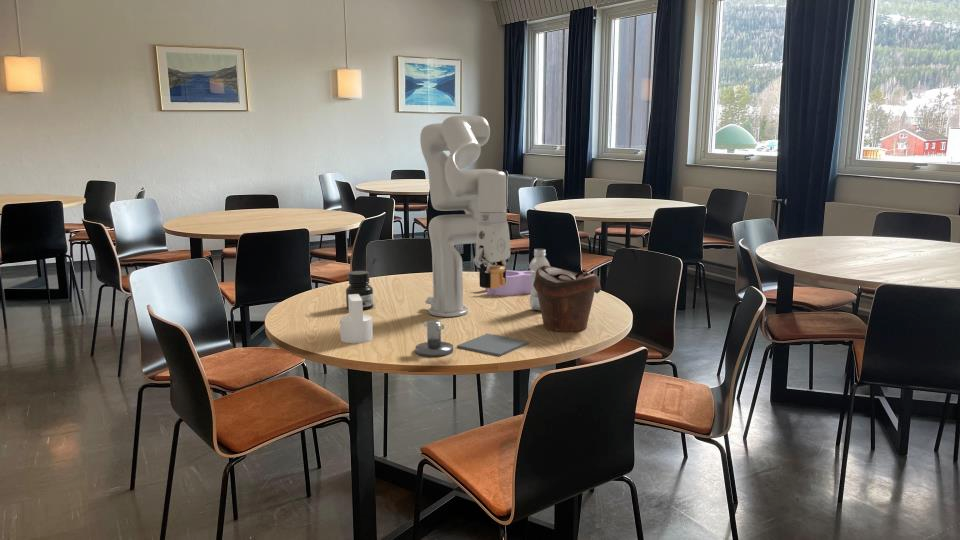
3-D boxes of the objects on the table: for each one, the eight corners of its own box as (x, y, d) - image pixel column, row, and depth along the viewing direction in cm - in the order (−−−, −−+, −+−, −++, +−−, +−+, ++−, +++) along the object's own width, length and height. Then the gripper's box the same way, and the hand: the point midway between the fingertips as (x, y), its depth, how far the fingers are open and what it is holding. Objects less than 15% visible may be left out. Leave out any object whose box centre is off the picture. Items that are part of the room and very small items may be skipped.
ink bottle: (353, 312, 230) (352, 276, 228) (340, 307, 237) (339, 272, 235) (379, 307, 237) (378, 272, 234) (366, 303, 243) (364, 269, 241)
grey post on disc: (407, 352, 187) (406, 323, 185) (432, 343, 195) (431, 315, 193) (437, 359, 181) (436, 329, 179) (460, 349, 189) (460, 320, 187)
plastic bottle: (549, 312, 227) (549, 251, 223) (528, 312, 228) (528, 251, 225) (551, 308, 233) (551, 248, 229) (530, 307, 235) (530, 247, 231)
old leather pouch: (607, 333, 202) (607, 271, 199) (538, 336, 201) (537, 274, 198) (592, 318, 220) (593, 261, 217) (528, 321, 218) (528, 264, 215)
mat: (457, 347, 191) (457, 345, 191) (487, 335, 202) (487, 333, 202) (500, 356, 183) (500, 354, 183) (528, 343, 194) (528, 341, 194)
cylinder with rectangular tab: (375, 341, 197) (373, 299, 195) (342, 344, 195) (340, 302, 193) (370, 333, 206) (368, 293, 204) (339, 335, 203) (337, 295, 201)
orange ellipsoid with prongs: (476, 286, 189) (476, 266, 188) (490, 282, 194) (489, 263, 193) (496, 289, 185) (495, 268, 184) (509, 285, 190) (509, 265, 189)
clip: (537, 287, 266) (537, 269, 265) (543, 294, 254) (543, 275, 253) (484, 289, 264) (484, 271, 263) (487, 296, 252) (487, 277, 251)
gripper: (484, 222, 177) (485, 292, 180) (522, 215, 191) (522, 281, 194) (460, 220, 181) (462, 289, 184) (499, 214, 195) (499, 278, 198)
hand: (492, 284), depth 189 cm, fingers closed on orange ellipsoid with prongs, 6 cm apart
